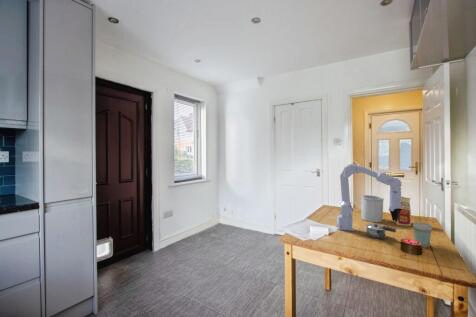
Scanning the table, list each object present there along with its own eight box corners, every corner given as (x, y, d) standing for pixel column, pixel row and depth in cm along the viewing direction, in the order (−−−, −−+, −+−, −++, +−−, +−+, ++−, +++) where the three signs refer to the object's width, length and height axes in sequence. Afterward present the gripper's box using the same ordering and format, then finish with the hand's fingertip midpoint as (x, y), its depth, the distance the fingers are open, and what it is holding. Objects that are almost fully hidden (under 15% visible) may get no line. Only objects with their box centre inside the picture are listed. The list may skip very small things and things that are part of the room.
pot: (362, 231, 151) (362, 224, 151) (379, 232, 149) (379, 224, 149) (373, 241, 134) (373, 233, 134) (392, 242, 133) (392, 234, 132)
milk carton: (397, 224, 163) (397, 196, 163) (394, 220, 172) (394, 194, 171) (412, 226, 160) (413, 197, 159) (408, 222, 168) (409, 195, 168)
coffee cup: (433, 250, 122) (433, 227, 122) (413, 246, 127) (413, 225, 126) (430, 244, 130) (430, 223, 129) (411, 241, 134) (411, 220, 134)
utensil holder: (383, 218, 178) (383, 195, 177) (383, 223, 166) (383, 199, 165) (361, 215, 186) (362, 194, 185) (360, 220, 174) (360, 197, 173)
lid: (363, 227, 144) (363, 224, 144) (369, 223, 150) (369, 220, 150) (392, 234, 132) (392, 231, 132) (398, 230, 138) (398, 226, 138)
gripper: (399, 201, 132) (399, 224, 132) (406, 197, 141) (406, 219, 142) (385, 199, 137) (385, 221, 138) (393, 195, 146) (393, 217, 147)
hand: (395, 220), depth 140 cm, fingers closed
